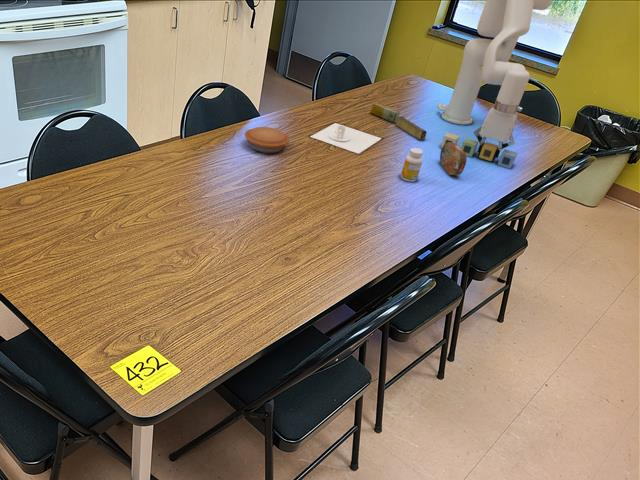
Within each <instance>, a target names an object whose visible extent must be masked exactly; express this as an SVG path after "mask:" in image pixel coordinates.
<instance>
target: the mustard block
mask: <svg viewBox="0 0 640 480" xmlns="http://www.w3.org/2000/svg"><path fill="white" fill-rule="evenodd" d="M497 148H498V144H496V143H492V142H488V141H485V144H484V145H483V147H482V150H481V152H480V155H479V156H478V158H480V159H482V160H486V161H489V162H492V161H493V160H492V159H493V156H494V154H495V151H496V149H497Z"/></svg>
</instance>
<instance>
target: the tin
mask: <svg viewBox="0 0 640 480" xmlns="http://www.w3.org/2000/svg"><path fill="white" fill-rule="evenodd" d="M467 157H468V156H466V154H465V152H464V151H463V150H462V149H461V146H459V145H458V143H457V144H456V143H451V142H447V143H445V145H444V146H443V148H441V150H440V154H439V163H440V165H441V167H442V168H443V169H444V171H446V173H447V174H448V175H449V176H460V175H461V174H462V173H463V172H464V170H465V168H466V165H467Z"/></svg>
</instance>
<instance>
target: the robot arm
mask: <svg viewBox="0 0 640 480" xmlns="http://www.w3.org/2000/svg"><path fill="white" fill-rule="evenodd" d="M552 2H553V0H486V1H485V3H484V6H483V9H482V12H481V15H480V17H479V19H478V23H477V25H476V26H477V28H476V30H477V31H476V32H477V33H478V34H479V35H480V36H482V37H488V38H480V37H479V38H478V37H477V38H472V39H470V40H469V41H467V43H465V45H464V49H463V53H462V54H463V55H462V61H461V65H460V69H459V73H458V75H457V79H456V82H455V85H454V87H453V91H452V93H451V97H450V101H449V103H448V104H446V105H444V104H442V103H438V104H437V107H436V108H437V109H438V111H441V112H442V113H441V118H442V119H443V120H444V121H446V122H448V123H452V124H455V125H464V126H467V125H471V124H472V123H473V120H474V119H473V118H472V116H471V115H472V112H473V109H474V106H475V103H476V100H477V98H478V94H479V92H480V89H481V87H482V86H481V85H482V83H485V84H488V85H495V86H500V89H499V91H498V95H497V97H496V99H495V102H494V103H493V104H494V105H493V106H491V107H490V109H489V111H488V113H487V115H486V117H485V119H484V120H483V123H482V125H481V126H479V127H478V128H476V129H475V130H474V131H473V135H474V136H475V137H476V140H477V141H479V142H478V145H479V146H478V148H477V150H476V151H477V156H478V157H479V155H480V152H481V150H482V147H483V145H484V144H485V143H486V141H487V139H489V140H493V141H496V142H498V143H497V145H498V148H497V149H496V151H495V154H494V156H493V159H492V161H495V160H496V159H498V158H499V156H500V153H501V151H502V150H504V149H507V147H511V146H513V145H515V143H516V142H515V138H514V135H513V132H514V129H515V126H516V124H517V120H518V115H519V113H518V112H522V110H523V107H522V106H520V103H521V100H522V98H523V95H524V93H525V90H526V87H527V86H528V84H529V81H530V78H531V74H530V72H529V71H527V69H526V67H525V66H524V64H521V63H518V62H510V59H511V56H512V54H513V52H514V50H515V47H516V45H517V43H518V40H519V38H520V37H522V36H524V35H526V34H528V32H529V31H530V30H531V29H530V28H531V21H532V16H533V11H535V10H536V11H545V10H547V9H549V7H550V6H551V5H552V4H553V3H552ZM490 38H493V39H490Z"/></svg>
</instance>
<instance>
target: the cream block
mask: <svg viewBox="0 0 640 480" xmlns="http://www.w3.org/2000/svg"><path fill="white" fill-rule="evenodd" d="M459 140H460V135H458V134H454V133H451V132H446V133H445V134H444V136H443V139H442V142H441V144H440V149H442V148H443V146H444V145H445V143H447V142H451V143H456V144H457V145H458V143H459Z"/></svg>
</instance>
